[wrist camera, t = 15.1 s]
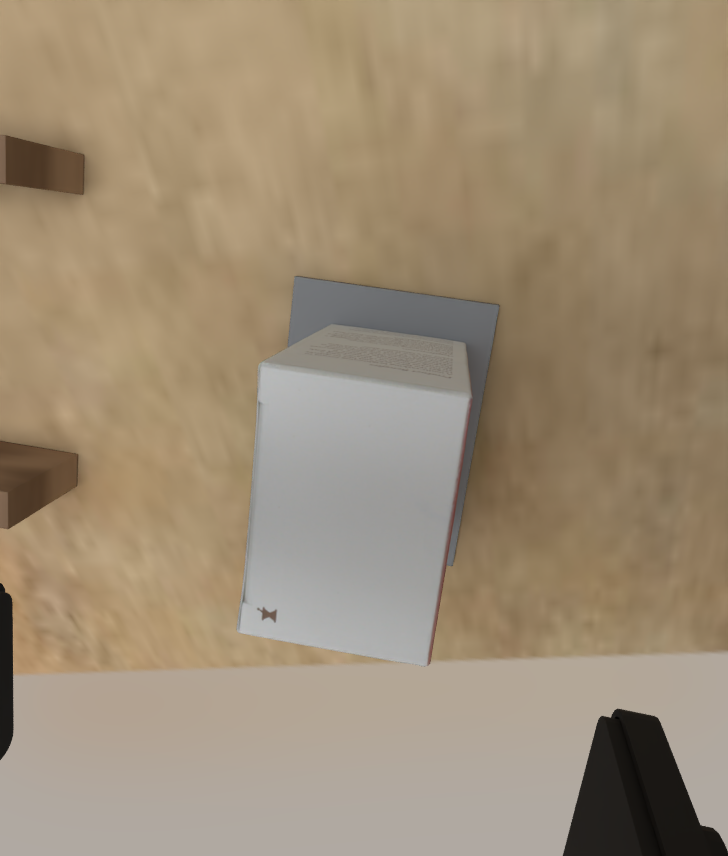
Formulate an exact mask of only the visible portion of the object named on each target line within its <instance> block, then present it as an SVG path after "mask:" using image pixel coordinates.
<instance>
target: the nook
mask: <svg viewBox="0 0 728 856" xmlns="http://www.w3.org/2000/svg"><path fill="white" fill-rule="evenodd" d="M83 176H84V155H82V154H78V153H74V152H70V151H66V150H62V149H58V148H54V147H50V146H46V145H42V144H38V143H34V142H30V141H26V140H22V139H18V138H14V137H10V136H6V135H0V183H1V184H8V185H15V186H23V187H30V188H38V189H45V190H53V191H60V192H67V193H75V194H82V195H83ZM77 458H78V454H73V453H67V452H61V451H55V450H49V449H44V448H38V447H32V446H26V445H20V444H14V443H8V442H2V441H0V528H4V529H9V528H11V527H13V526H14V525H16V524H17V523H19V522H20V521H22V520H24V519H25V518H27V517H28V516H30V515H32V514H33V513H35V512H36V511H38V510H40V509H41V508H43V507H44V506H46V505H47V504H49V503H51V502H52V501H54V500H55V499H57V498H59V497H60V496H62V495H63V494H65V493H66V492H68V491H70V490H71V489H73V488H74V487H76V486H77Z"/></svg>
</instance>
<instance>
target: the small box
mask: <svg viewBox="0 0 728 856" xmlns="http://www.w3.org/2000/svg"><path fill="white" fill-rule="evenodd" d="M472 400H473V396H472V388H471V380H470V373H469V368H468V357H467V351H466V344H465V343H464V342H458V341H452V340H446V339H439V338H432V337H426V336H419V335H411V334H403V333H396V332H389V331H382V330H375V329H367V328H360V327H352V326H343V325H336V324H331V325H329V326H327V327H325V328H323V329H322V330H319V331H318V332H316V333H314V334H312V335H310V336H308V337H306V338H304V339H303V340H301V341H299V342H297V343H295V344H293V345H292V346H290V347H288V348H286V349H284V350H283V351H280V352H279V353H277V354H275V355H273V356H272V357H270V358H268V359H266V360H264V361H262V362H261V363H260V364H259V366H258V388H257V417H256V434H255V448H254V460H253V473H252V486H251V500H250V512H249V524H248V535H247V546H246V559H245V568H244V577H243V587H242V595H241V601H240V608H239V615H238V623H237V631H238V632H239V633H242V634H247V635H252V636H258V637H263V638H268V639H273V640H278V641H284V642H290V643H295V644H301V645H306V646H312V647H317V648H323V649H328V650H334V651H340V652H345V653H351V654H356V655H361V656H367V657H372V658H378V659H383V660H389V661H395V662H401V663H408V664H415V665H419V666H428V665H429V664H430V661H431V655H432V648H433V642H434V636H435V630H436V624H437V618H438V612H439V606H440V600H441V594H442V588H443V582H444V576H445V570H446V564H447V558H448V553H449V547H450V541H451V535H452V529H453V523H454V517H455V510H456V503H457V497H458V490H459V484H460V477H461V471H462V465H463V458H464V452H465V445H466V438H467V431H468V424H469V418H470V412H471V406H472Z"/></svg>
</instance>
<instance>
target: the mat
mask: <svg viewBox="0 0 728 856" xmlns="http://www.w3.org/2000/svg"><path fill="white" fill-rule="evenodd" d="M498 310H499V305H497V304H490V303H483V302H476V301H469V300H462V299H455V298H448V297H441V296H434V295H426V294H419V293H412V292H405V291H398V290H391V289H384V288H377V287H370V286H363V285H356V284H349V283H342V282H335V281H328V280H320V279H313V278H306V277H299V276H295V279H294V289H293V299H292V309H291V319H290V329H289V339H288V347H290V346H292V345H293V344H295V343H297V342H299V341H301V340H303V339H304V338H306V337H308V336H310V335H312V334H314V333H316V332H318V331H319V330H322V329H323V328H325V327H327V326H329V325H331V324H336V325H343V326H352V327H360V328H367V329H375V330H382V331H389V332H396V333H403V334H411V335H419V336H426V337H432V338H439V339H446V340H452V341H458V342H464V343H465V344H466V351H467V357H468V368H469V373H470V380H471V388H472V396H473V400H472V406H471V412H470V418H469V424H468V431H467V438H466V445H465V452H464V458H463V465H462V471H461V477H460V484H459V490H458V497H457V503H456V510H455V517H454V523H453V529H452V535H451V541H450V547H449V553H448V558H447V564H446V565H448V566H453V560H454V555H455V549H456V544H457V538H458V533H459V527H460V522H461V516H462V510H463V505H464V499H465V494H466V488H467V483H468V477H469V472H470V466H471V460H472V455H473V449H474V444H475V438H476V433H477V427H478V422H479V416H480V410H481V405H482V399H483V394H484V388H485V383H486V377H487V372H488V366H489V360H490V355H491V349H492V344H493V338H494V333H495V327H496V322H497V316H498Z"/></svg>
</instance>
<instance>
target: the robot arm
mask: <svg viewBox="0 0 728 856" xmlns="http://www.w3.org/2000/svg"><path fill="white" fill-rule="evenodd" d="M12 737H13V617H12V598H11V596H10V594H8V593H5V588H4V586H3V585H2V584H1V583H0V760H1V759H2V757H3V756H4V755H5V753H6V751H7V750H8V748H9V746H10V744H11V741H12ZM563 856H728V851H727V849H726V846H725V844H724V842H723V840H722V838H721V837H720V835H719V833H718V832H717V831H715V830H714V829H713V828H710V827H706V826H701V825H700V823H699V821H698V818H697V815H696V813H695V810H694V808H693V805H692V802H691V800H690V797H689V795H688V792H687V790H686V787H685V785H684V782H683V779H682V777H681V774H680V772H679V769H678V767H677V764H676V762H675V759H674V756H673V754H672V751H671V749H670V746H669V743H668V741H667V738H666V736H665V733H664V731H663V728H662V726H661V723H660V721H659V719H658V718H657V717H655V716H651V715H646V714H641V713H636V712H632V711H627V710H622V709H616V710H615V711H614V712H613V714H612V717H611V718H609V717H604V716H601V717H600V718H599V720H598V723H597V726H596V730H595V734H594V738H593V742H592V746H591V750H590V753H589V757H588V761H587V765H586V769H585V772H584V776H583V780H582V784H581V788H580V792H579V796H578V800H577V803H576V807H575V811H574V815H573V819H572V822H571V826H570V830H569V834H568V838H567V842H566V846H565V850H564V853H563Z"/></svg>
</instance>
